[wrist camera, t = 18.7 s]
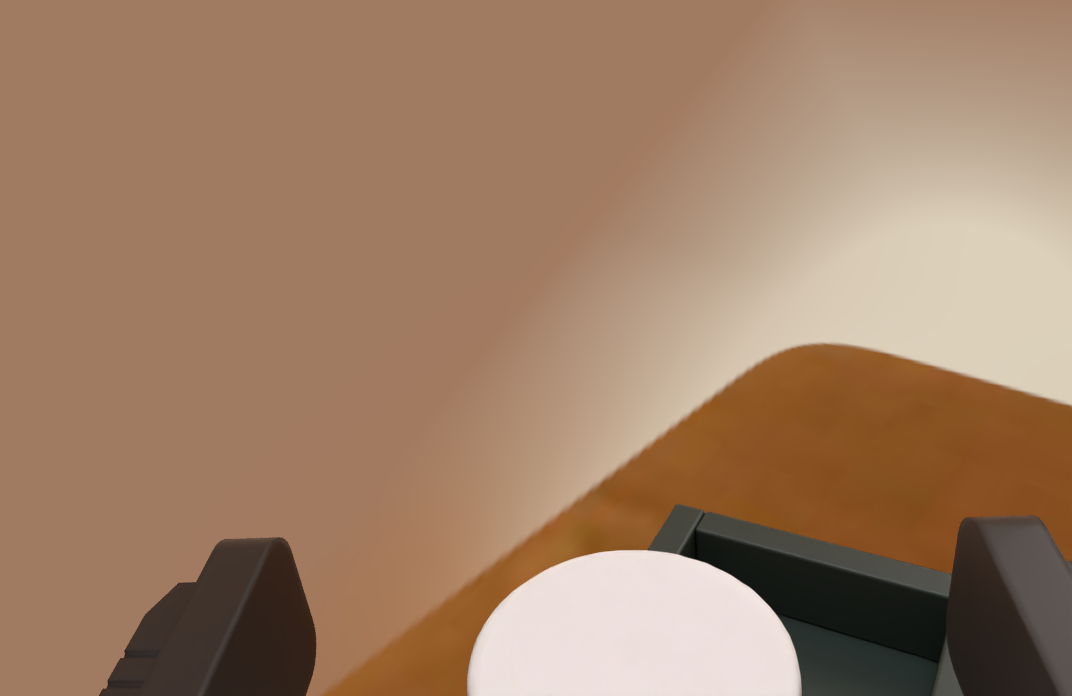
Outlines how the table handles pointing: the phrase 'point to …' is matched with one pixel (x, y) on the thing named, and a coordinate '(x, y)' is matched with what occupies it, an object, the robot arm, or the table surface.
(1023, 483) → the table surface
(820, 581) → the compartment tray
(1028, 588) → the robot arm
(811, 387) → the table surface
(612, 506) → the table surface
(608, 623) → the pill bottle
